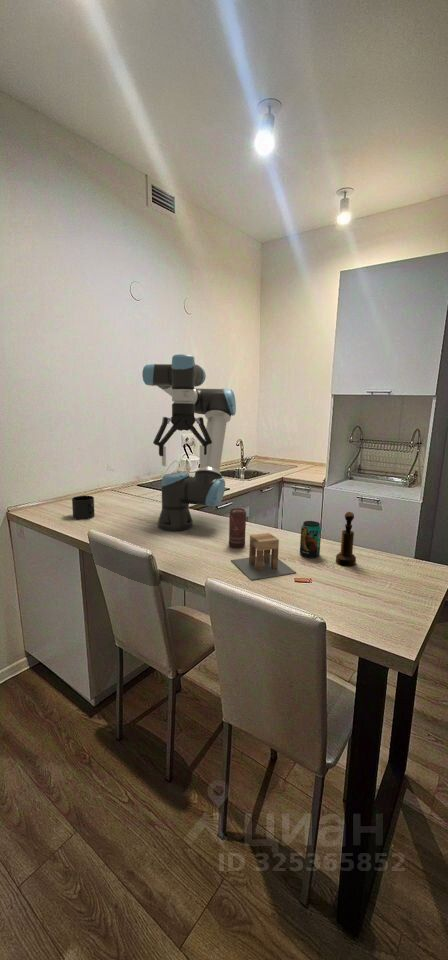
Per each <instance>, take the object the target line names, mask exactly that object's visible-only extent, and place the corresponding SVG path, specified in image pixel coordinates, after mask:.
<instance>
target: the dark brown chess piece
mask: <svg viewBox="0 0 448 960" xmlns="http://www.w3.org/2000/svg"><path fill="white" fill-rule="evenodd" d="M344 519H345V522H346V524H344V527H345V529H344V530H342V531H341V539H340V540H341V542H340V543H341V544H340V552H339V553H337V554H336V555H335V563H337V564H338V565H340V566H343V567H344V566H345V567H351V566H352V567H353V566H355V565H356V563H357V558H356V557H357V556H355V554H353V552H354V551H353V549H354V539H355V538H354V537H355V532H354V531H353V530H352V528H353V524H352V522H353V520H354V519H355V514H354V513H353V512H351V511H346V513H345V514H344Z"/></svg>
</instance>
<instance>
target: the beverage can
mask: <svg viewBox="0 0 448 960" xmlns="http://www.w3.org/2000/svg"><path fill="white" fill-rule="evenodd" d="M321 539H322V527H321V523H320V522H318V521H315V520H305V521H303V524H302V525H301V527H300V542H299V543H300V544H299V554H300V555H301V556H302V557H303V558H307V559H315V558H318V557H319V556H320V553H321Z"/></svg>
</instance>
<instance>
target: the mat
mask: <svg viewBox="0 0 448 960" xmlns="http://www.w3.org/2000/svg"><path fill="white" fill-rule="evenodd" d="M263 559H264V555H263ZM230 562H231V563H232V564H233V565H234V566H235V567H236V568H237V569H238V570H239V571H241V573H242V574H243V575H244V576H246V577H247V578H248V579H249V580H250V581H257V580H264V579H268V578H276V577H282V576H289V575H295V574H297V572H296V571H295V570H294V569H292V568H291V567H290V566H289V565H287V564H286V563H284V562H283V561H282V560H281V559H279V558H278V568H277V569H272V568H271V554H270V562H269V563H265V562H264V561H263V571H257V570H256V561H255V565H250V564H249V557H243V558H237V559H230Z"/></svg>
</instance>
